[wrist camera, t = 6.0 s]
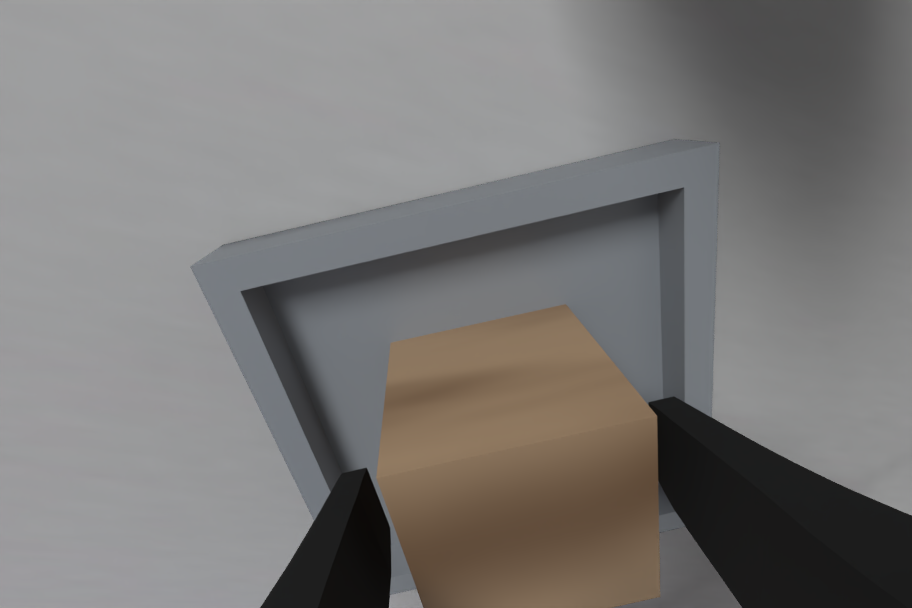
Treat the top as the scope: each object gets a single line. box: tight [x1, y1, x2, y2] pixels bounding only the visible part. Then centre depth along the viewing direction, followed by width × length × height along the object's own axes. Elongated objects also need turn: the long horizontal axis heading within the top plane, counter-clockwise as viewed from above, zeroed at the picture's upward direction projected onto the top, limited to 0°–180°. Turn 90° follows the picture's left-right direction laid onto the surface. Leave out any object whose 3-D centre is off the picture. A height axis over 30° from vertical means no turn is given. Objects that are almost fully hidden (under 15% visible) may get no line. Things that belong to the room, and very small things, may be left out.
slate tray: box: [190, 139, 720, 595], centre depth 13 cm, size 12×12×2 cm
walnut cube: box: [376, 304, 660, 608], centre depth 11 cm, size 5×5×5 cm
